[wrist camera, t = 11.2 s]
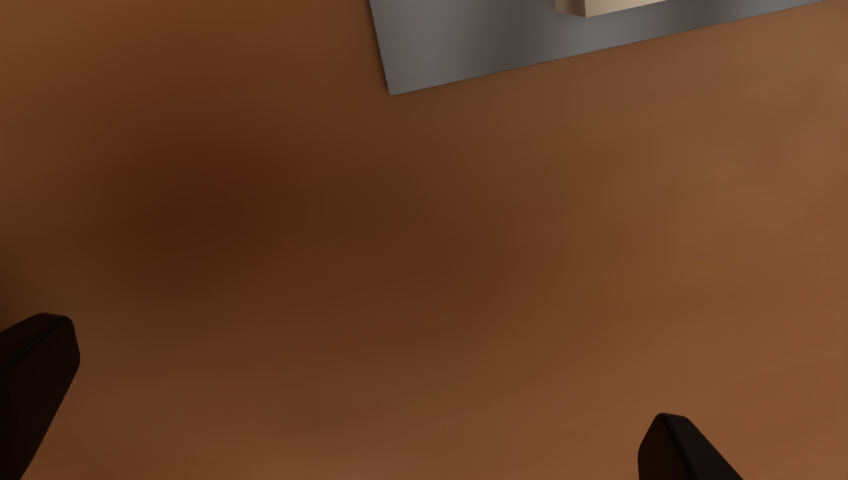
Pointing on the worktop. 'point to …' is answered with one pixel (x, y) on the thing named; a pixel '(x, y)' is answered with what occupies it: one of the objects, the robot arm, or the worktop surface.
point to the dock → (527, 32)
